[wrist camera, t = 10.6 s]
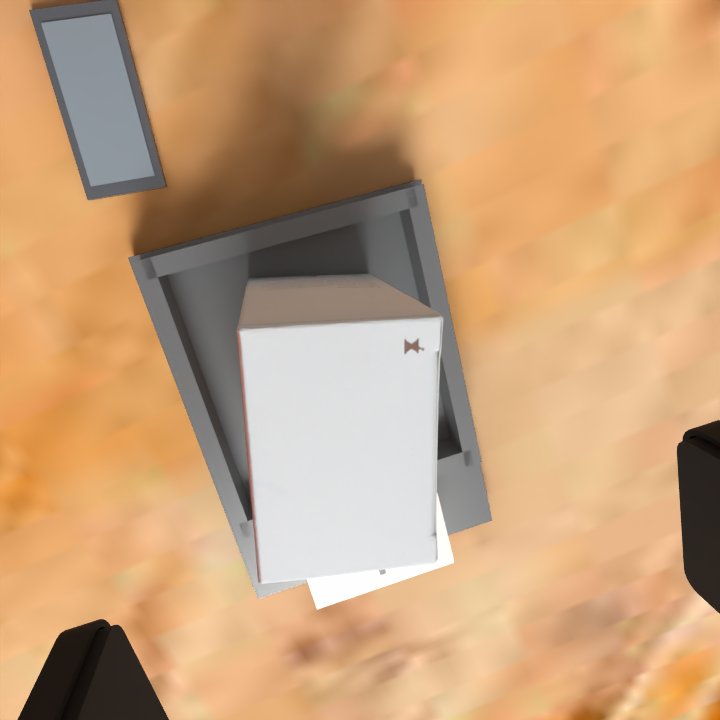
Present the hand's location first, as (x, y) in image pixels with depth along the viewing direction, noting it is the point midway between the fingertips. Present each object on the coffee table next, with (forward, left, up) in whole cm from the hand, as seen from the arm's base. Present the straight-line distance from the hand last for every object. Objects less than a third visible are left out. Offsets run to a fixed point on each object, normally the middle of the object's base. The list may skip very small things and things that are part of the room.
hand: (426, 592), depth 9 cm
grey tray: (+3, 0, -18) cm, 18 cm away
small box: (0, -1, -17) cm, 17 cm away
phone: (-12, -6, -19) cm, 23 cm away
